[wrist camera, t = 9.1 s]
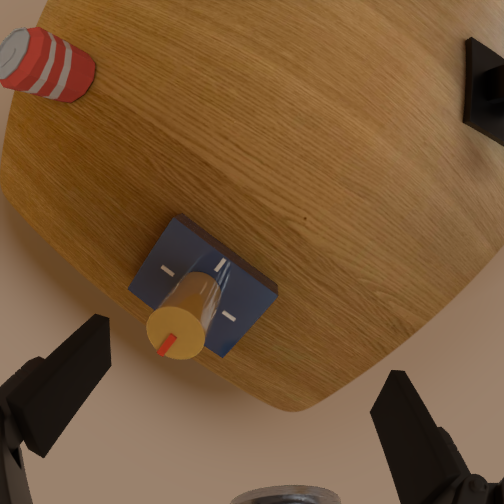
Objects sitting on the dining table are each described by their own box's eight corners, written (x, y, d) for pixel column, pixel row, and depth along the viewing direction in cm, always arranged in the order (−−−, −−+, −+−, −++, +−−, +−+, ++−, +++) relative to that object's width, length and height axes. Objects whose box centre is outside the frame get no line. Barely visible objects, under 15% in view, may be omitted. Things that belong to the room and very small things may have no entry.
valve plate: (277, 284, 31) (278, 296, 28) (226, 343, 33) (222, 359, 30) (182, 213, 30) (172, 217, 27) (138, 279, 32) (126, 289, 29)
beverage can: (54, 73, 26) (-12, 50, 15) (94, 46, 25) (33, 9, 14) (60, 112, 27) (-11, 98, 16) (102, 86, 27) (35, 56, 15)
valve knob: (192, 261, 28) (163, 295, 20) (230, 290, 28) (216, 334, 20) (167, 296, 29) (135, 337, 21) (204, 322, 29) (183, 372, 21)
